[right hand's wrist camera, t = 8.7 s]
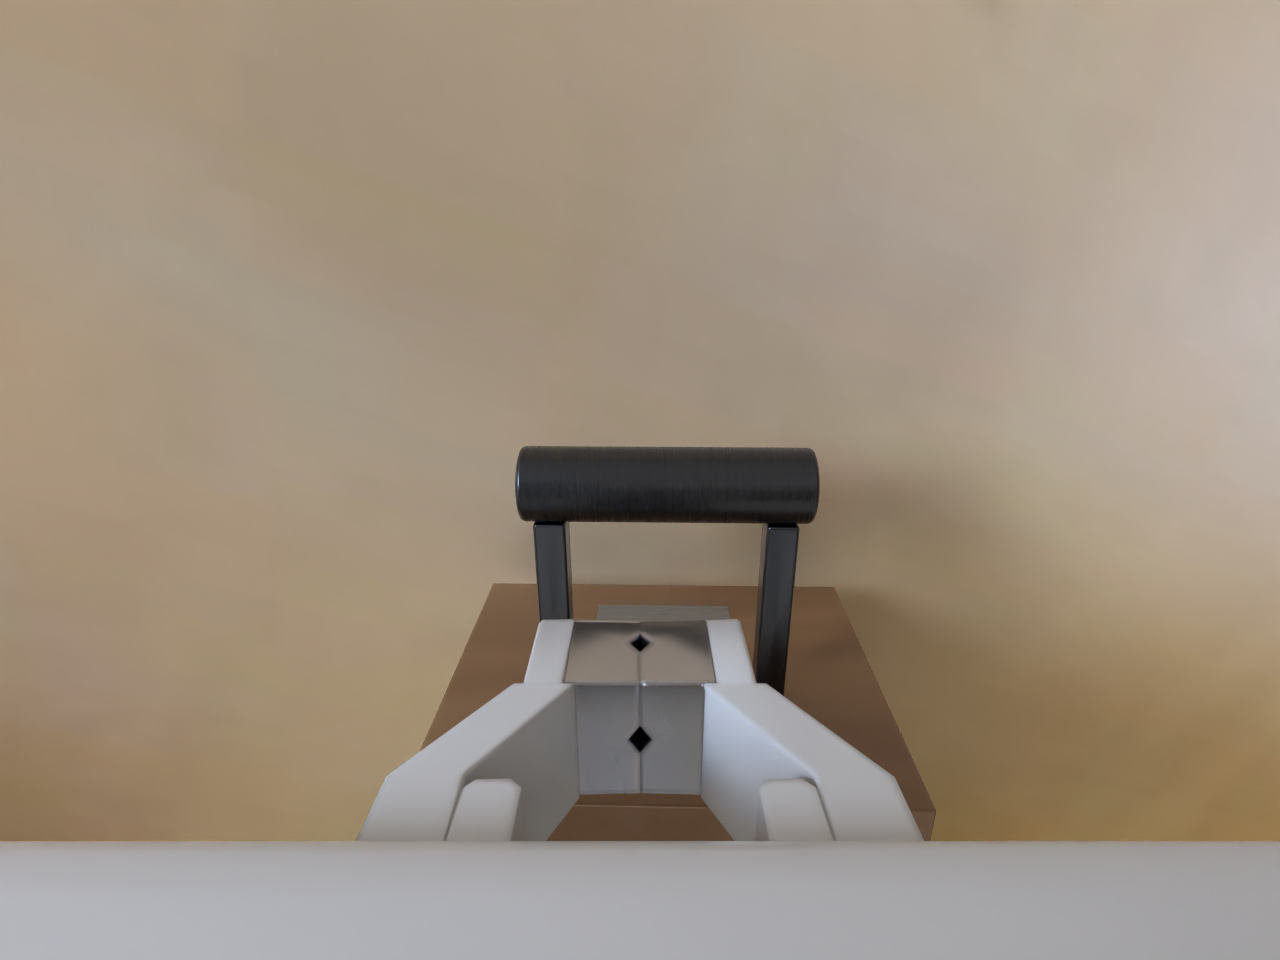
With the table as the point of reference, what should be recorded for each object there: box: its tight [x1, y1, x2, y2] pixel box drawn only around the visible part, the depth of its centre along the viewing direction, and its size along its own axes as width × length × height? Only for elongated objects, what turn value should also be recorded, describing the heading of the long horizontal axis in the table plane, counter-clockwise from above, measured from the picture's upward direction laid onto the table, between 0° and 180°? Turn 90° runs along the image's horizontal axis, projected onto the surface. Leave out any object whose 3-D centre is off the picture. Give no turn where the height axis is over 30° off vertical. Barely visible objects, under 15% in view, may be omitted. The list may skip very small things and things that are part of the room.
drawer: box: [420, 446, 936, 841], centre depth 17 cm, size 23×9×7 cm, turn 0°
